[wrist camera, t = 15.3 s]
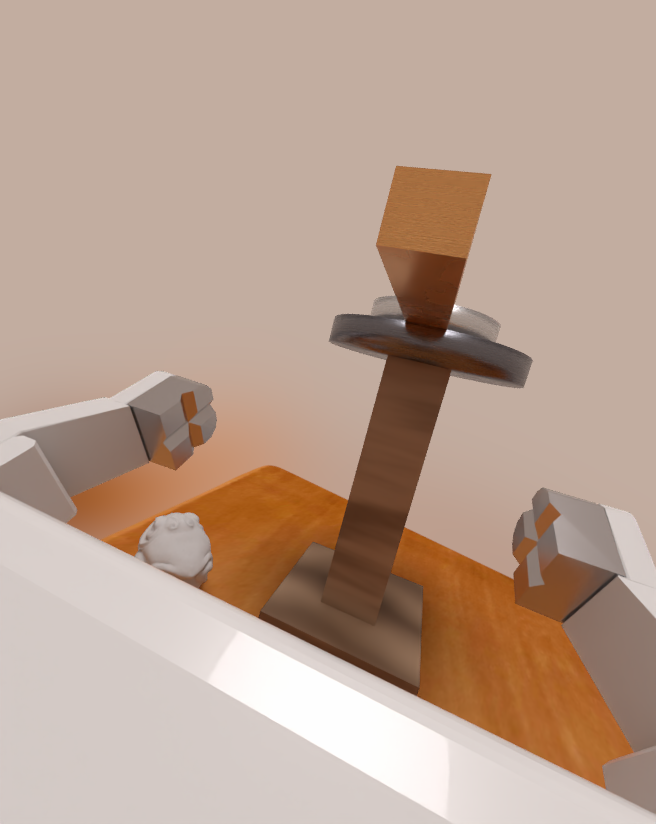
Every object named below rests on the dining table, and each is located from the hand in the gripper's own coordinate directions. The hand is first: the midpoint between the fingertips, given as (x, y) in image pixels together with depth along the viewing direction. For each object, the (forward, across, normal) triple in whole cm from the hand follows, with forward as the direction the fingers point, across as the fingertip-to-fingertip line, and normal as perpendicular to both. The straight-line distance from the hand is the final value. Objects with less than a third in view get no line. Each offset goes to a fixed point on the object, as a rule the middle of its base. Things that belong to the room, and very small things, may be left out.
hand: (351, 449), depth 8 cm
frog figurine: (+2, +14, +25) cm, 29 cm away
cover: (+15, 0, +2) cm, 15 cm away
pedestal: (+9, 0, +29) cm, 30 cm away
